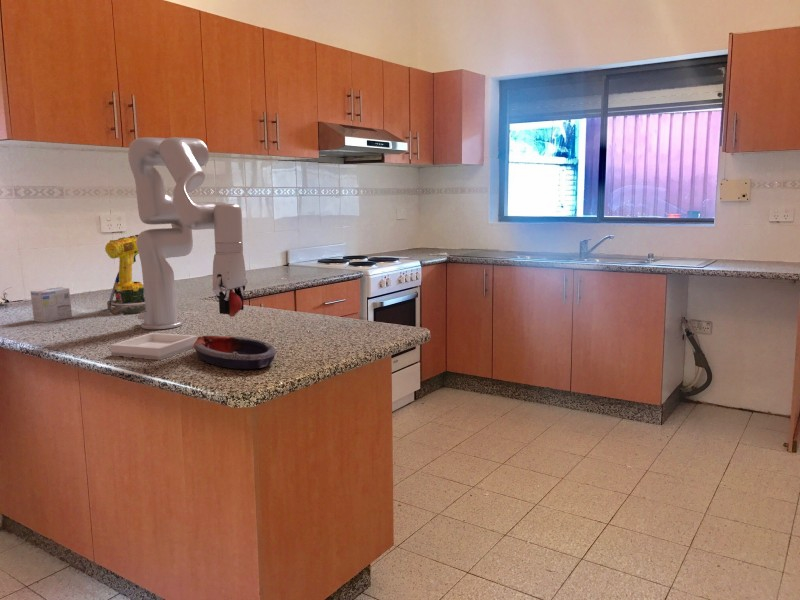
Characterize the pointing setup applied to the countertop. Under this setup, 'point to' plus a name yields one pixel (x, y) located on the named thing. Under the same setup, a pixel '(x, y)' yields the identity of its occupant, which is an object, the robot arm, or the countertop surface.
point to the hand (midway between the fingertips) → (231, 311)
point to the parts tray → (154, 346)
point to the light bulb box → (51, 304)
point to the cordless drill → (125, 278)
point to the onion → (234, 303)
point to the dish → (234, 352)
